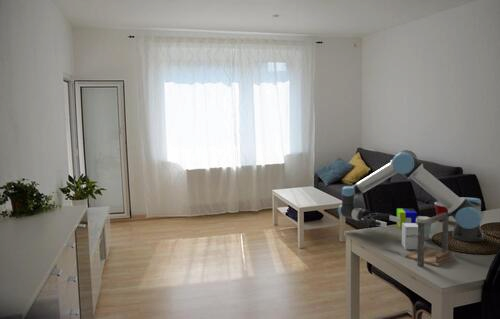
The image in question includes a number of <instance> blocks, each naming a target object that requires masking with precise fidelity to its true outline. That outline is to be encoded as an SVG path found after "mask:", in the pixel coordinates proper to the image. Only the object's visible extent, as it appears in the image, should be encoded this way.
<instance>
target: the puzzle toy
mask: <svg viewBox="0 0 500 319" xmlns="http://www.w3.org/2000/svg"><path fill="white" fill-rule="evenodd" d="M396 217H399V218H400V223H399V222H396V225H397V226H398V228H399V227H400V228H399V229H402V223H416V218H417V217H418V212H417V211H416V210H415V208H399V207H398V208H396Z"/></svg>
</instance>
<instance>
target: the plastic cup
mask: <svg viewBox="0 0 500 319" xmlns="http://www.w3.org/2000/svg"><path fill="white" fill-rule="evenodd" d="M433 204H434V208H435V213H436V215H439V214H441V213H444V212H447V213H448V209H447V208H446V207H445V206H444V205H442V204H441V203H440V202H439V201H435V202H433ZM436 215H435V216H436ZM438 222H440V223H443V219H442V220H439V221H438Z"/></svg>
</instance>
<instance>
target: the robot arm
mask: <svg viewBox="0 0 500 319" xmlns="http://www.w3.org/2000/svg"><path fill="white" fill-rule="evenodd" d="M396 174H401V175H402V176H404V178H406V179H407V180H412V181H414V182H415V183H416V184H417V185H419V186H420V187H421V188H422V189H423V190H425V192H427V193H428V194H429V195H430V196H432V198H434V199H435V200H436V201H437V202H440V203H441V204H442V205H444V206H445V207H446V208H447V209H448V213H449V216H451V217H452V218H453V219H454V220H455V225H454V227H453V230H452V232H451V233H452V235H451V236H452V237H453V238H454V239H456V240H460V241H464V242H468V243H469V242H471V243H473V242H474V243H478V242H482V241H483V240H484V233H483V230H482V227H481V222H482V220H483V215H482V211H481V210H482V200H481V199H480V198H477V197H468V196H467V197H464V196H463V197H461V196H460V197H459V196H458V195H457V194H456V193H454V192H453V191H452V190H451V189H450V188H449V187H447V186H446V185H445V184H444V183H442V182H441V181H440V180H439V179H438V178H437V177H435V176H434V175H432V173H430V172H429V171H428V170H427V169H425V167H424V163H422V162H421V160H419V159H418V157H417V155H416V153H414V152H413V151H412V150H407V149H405V150H402V151H400V152H398V153H396V154H395V155H394V156H393V158H392V159H390V162H388V163H387V164H385V165H383V166H382V167H381V168H379V169H377V170H376V171H374V172H372V173H370V174H369V175H367V176H366V177H364V178H363V179H361V180H359V181H357V182H356V183H355V184H353V185H351V186H350V185H348V186H347V185H345V186H343V187H342V188H341V200H342V201H341V204H340V205H339V206H338V209H337V213H338V215H339V216H341V217H344V218H347V219H352V220H355V221H357V222H362V223H366V224H367V225H369V226H372V227H376V226H377V227H381V228H387V227H388V226H387V224H388V222H385V221H381V220H389V221H392V222H395V223H397V222H399V223H400V218H399V217H397V216H394V215H392V214H391V213H381V212H376V211H374V213H373V212H371V211H370V210H368V209H366V208H365V209H364V208H361V207H357V206H355V199H357V197H359V196H361V195H363V194H364V193H367V191H369V190H371V189H372V188H375V187H376V186H378V185H380V184H381V183H383V182H384V181H386V180H388V179H389V178H391V177H393V176H394V175H396Z"/></svg>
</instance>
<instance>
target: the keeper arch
mask: <svg viewBox="0 0 500 319" xmlns="http://www.w3.org/2000/svg"><path fill="white" fill-rule="evenodd" d="M442 219H443V222H442V229H441V230H442V231H441V232H442V234H441V235H442V236H441V237H442V238H441V240H442V241H441V251H438V250H437V251H436V250H434V249H429V248H427V247H426V248H425V240H424V227H425V226H427V225H430V224H431V225H432V224H435V223H437V222H439V220H442ZM449 220H450V214H449V213H447V212H444V213H441V214H439V215H434V216H432V217H430V218H429V219H426V220H424V221H421V222H419V223H418V249H414V250H413V251H411V252H409V253H407V254H405V258H407V259H411V260H414V261H416V263H417V266H418V267H423V266H424V265H425V264H427V265H430V266H433V267H437V268H438V267H440V266H442V265H444V264H445V263H447V262H448V261H451V260H453V259H454V255H452V253H451V252H452V250H449Z"/></svg>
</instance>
